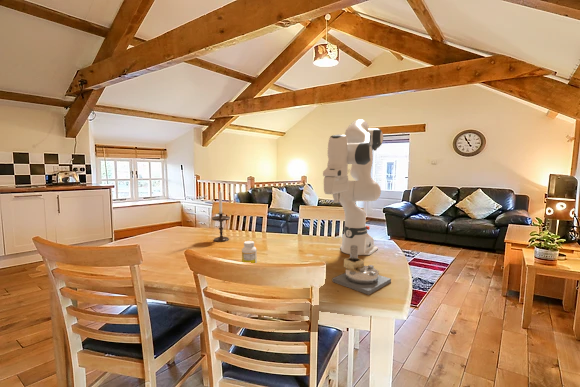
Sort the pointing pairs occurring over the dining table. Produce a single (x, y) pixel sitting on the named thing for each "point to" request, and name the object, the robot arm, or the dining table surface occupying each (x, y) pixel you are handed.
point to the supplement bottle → (249, 252)
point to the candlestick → (220, 220)
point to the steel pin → (353, 253)
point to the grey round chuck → (360, 272)
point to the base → (362, 287)
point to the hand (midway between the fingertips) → (336, 202)
